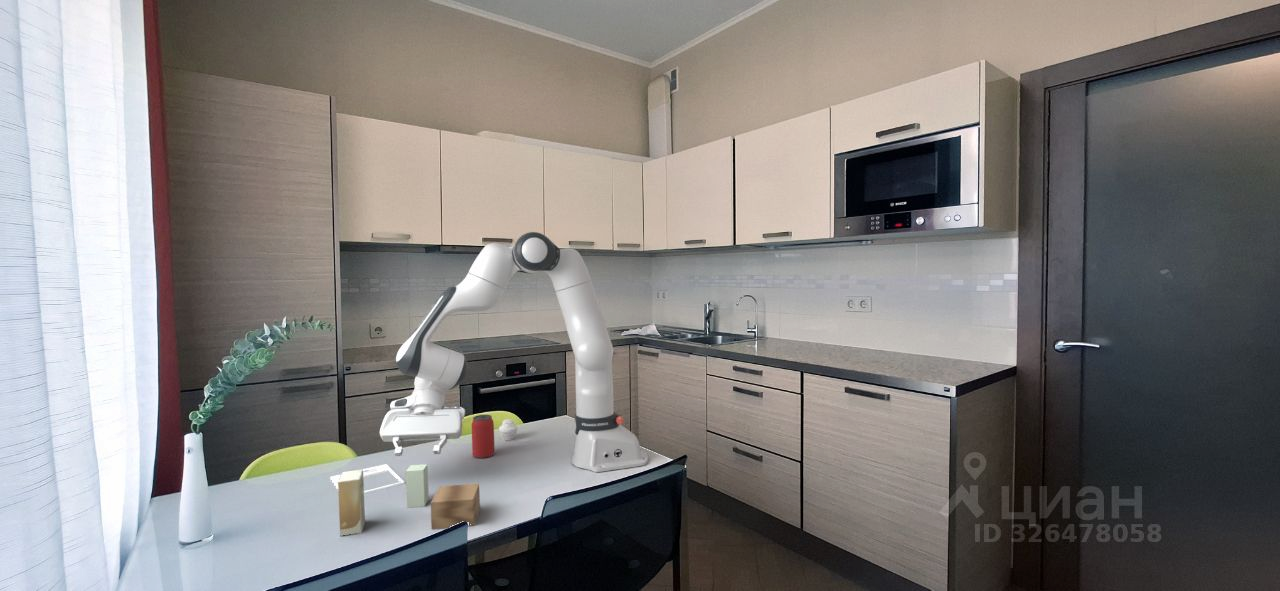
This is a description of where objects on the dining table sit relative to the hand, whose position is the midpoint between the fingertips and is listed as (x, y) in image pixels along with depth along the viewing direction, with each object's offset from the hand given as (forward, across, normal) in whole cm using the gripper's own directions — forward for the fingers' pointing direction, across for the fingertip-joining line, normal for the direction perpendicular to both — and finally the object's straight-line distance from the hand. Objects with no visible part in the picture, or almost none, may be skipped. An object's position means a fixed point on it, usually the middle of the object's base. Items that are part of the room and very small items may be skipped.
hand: (417, 454), depth 136 cm
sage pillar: (+12, -2, -3) cm, 12 cm away
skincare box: (+20, +10, +4) cm, 22 cm away
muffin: (-23, -18, -37) cm, 47 cm away
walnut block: (+18, -12, +4) cm, 23 cm away
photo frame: (0, +16, -16) cm, 23 cm away
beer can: (-12, -12, -26) cm, 31 cm away
